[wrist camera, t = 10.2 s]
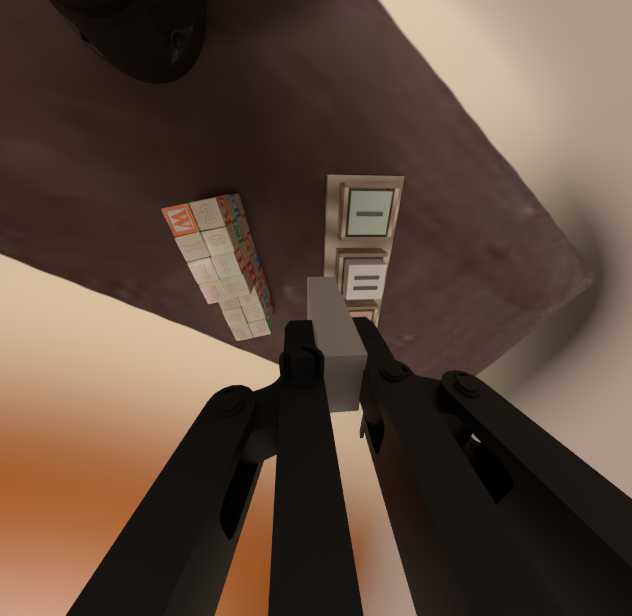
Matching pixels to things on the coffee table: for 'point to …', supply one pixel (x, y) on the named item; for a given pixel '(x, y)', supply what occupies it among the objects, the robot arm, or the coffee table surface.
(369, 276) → the tile
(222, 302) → the stack of blocks
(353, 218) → the light grey block
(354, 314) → the tile
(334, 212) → the button board
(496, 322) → the coffee table surface
